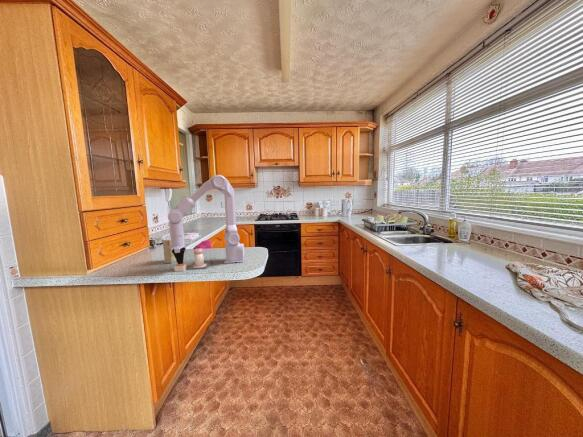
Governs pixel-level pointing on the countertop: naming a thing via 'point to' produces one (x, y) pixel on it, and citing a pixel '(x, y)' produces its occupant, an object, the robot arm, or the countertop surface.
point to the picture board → (206, 264)
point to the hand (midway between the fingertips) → (180, 263)
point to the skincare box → (168, 251)
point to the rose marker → (198, 257)
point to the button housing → (180, 267)
